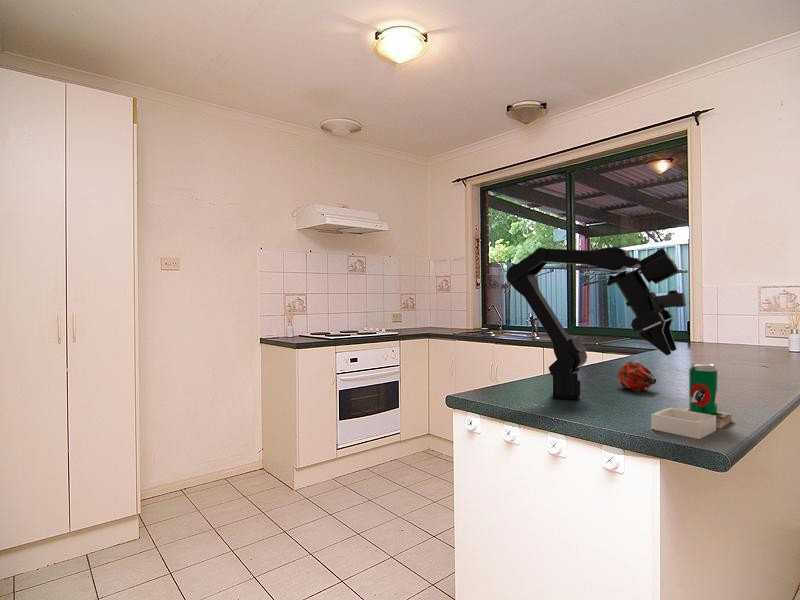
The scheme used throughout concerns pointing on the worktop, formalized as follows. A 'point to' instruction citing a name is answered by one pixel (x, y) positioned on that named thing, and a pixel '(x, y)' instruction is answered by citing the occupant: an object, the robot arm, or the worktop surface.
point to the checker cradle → (721, 419)
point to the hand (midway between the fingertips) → (671, 352)
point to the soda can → (703, 389)
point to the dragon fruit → (635, 376)
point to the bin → (683, 422)
